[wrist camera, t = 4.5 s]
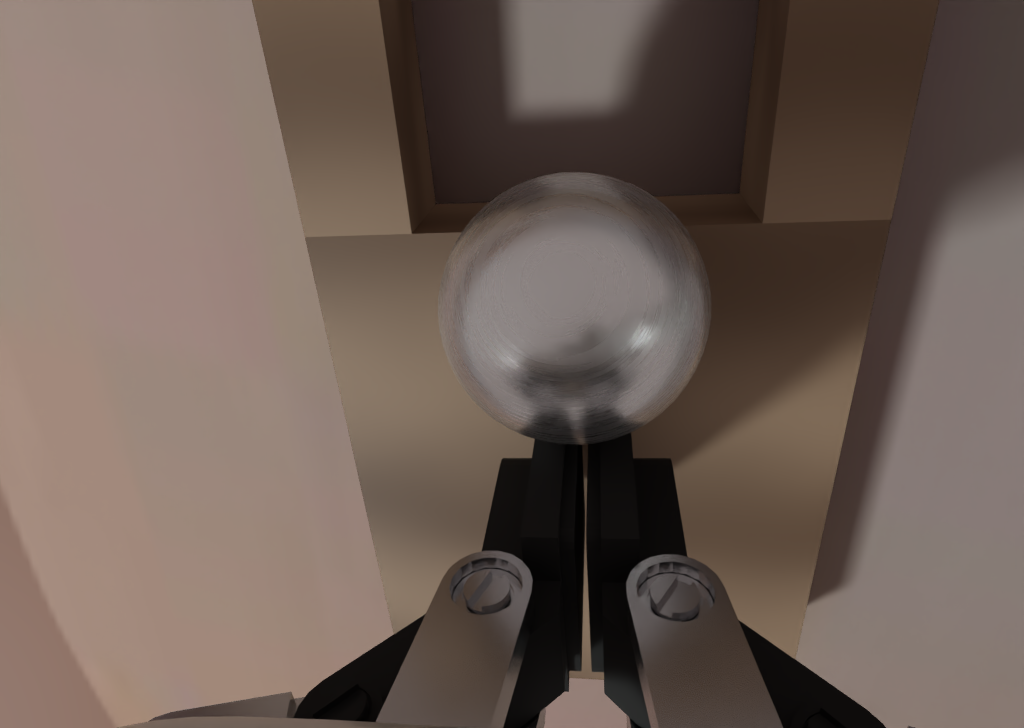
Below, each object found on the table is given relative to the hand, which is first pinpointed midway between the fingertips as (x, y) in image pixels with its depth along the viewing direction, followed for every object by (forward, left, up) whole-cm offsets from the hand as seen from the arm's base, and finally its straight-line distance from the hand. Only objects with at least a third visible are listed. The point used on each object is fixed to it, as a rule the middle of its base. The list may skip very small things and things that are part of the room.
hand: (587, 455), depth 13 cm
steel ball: (-3, -3, +1) cm, 4 cm away
